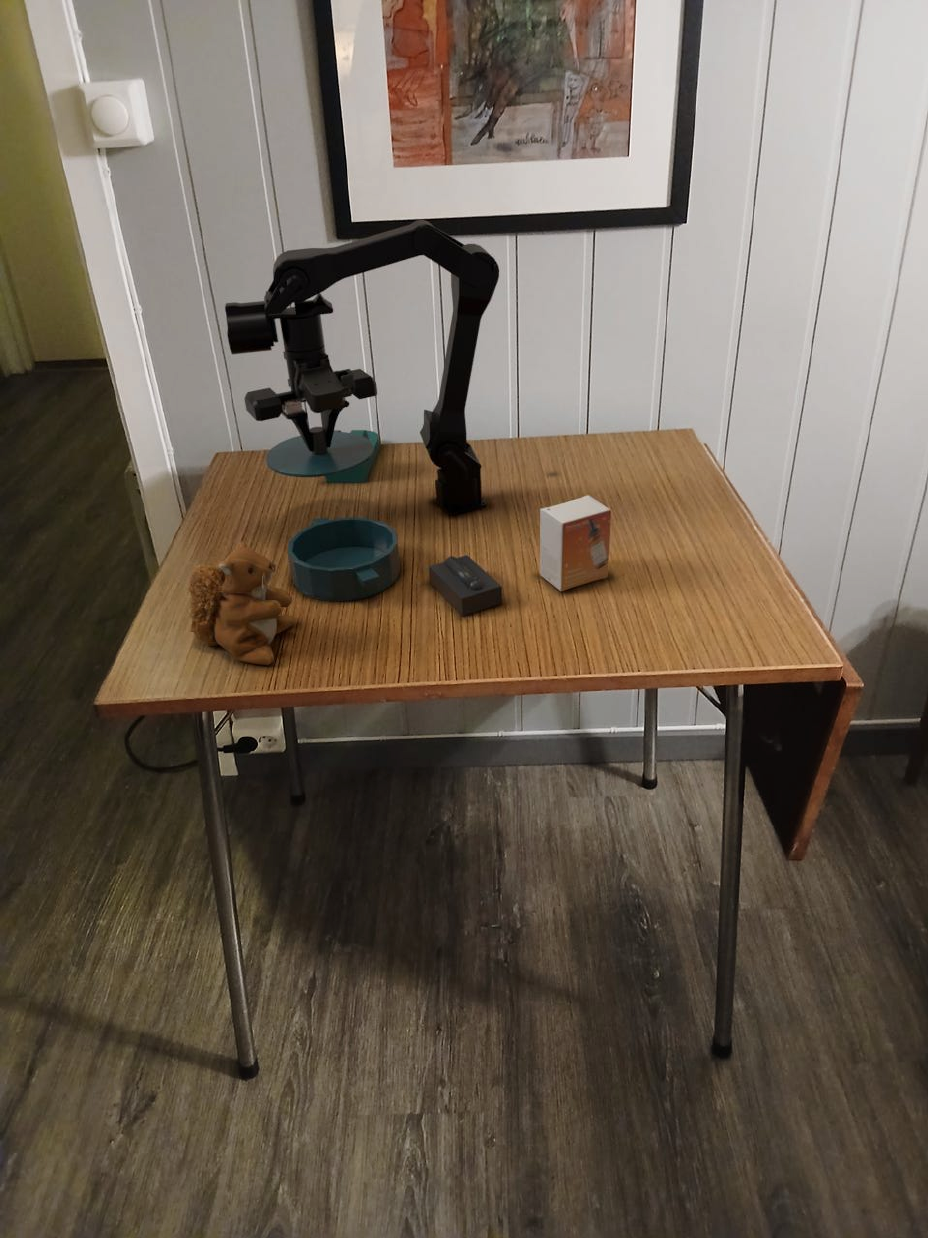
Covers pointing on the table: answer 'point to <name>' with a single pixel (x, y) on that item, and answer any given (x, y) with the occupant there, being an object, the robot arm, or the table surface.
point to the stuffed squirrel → (239, 605)
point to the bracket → (363, 470)
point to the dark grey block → (465, 585)
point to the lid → (320, 454)
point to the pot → (344, 558)
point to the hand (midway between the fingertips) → (319, 448)
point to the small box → (574, 542)
